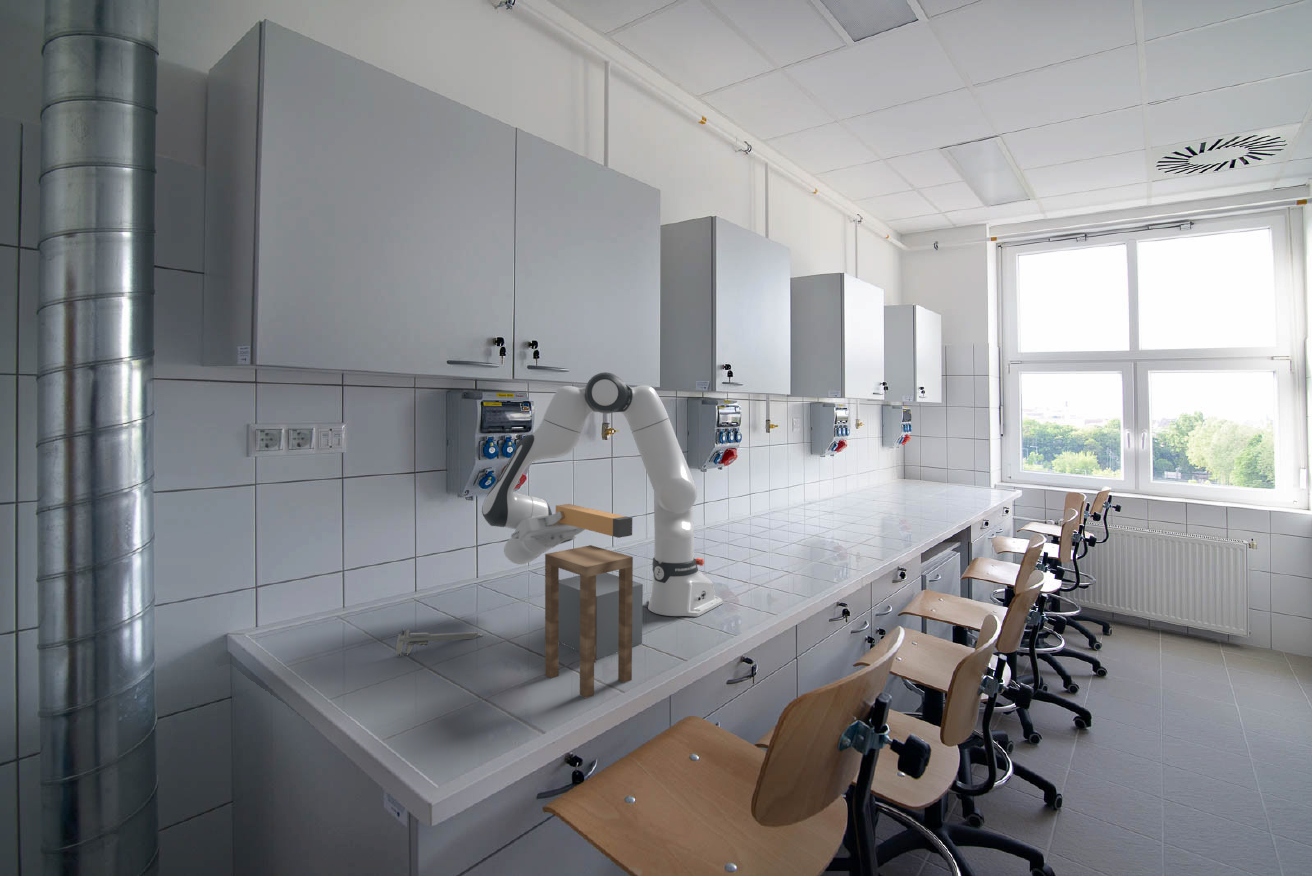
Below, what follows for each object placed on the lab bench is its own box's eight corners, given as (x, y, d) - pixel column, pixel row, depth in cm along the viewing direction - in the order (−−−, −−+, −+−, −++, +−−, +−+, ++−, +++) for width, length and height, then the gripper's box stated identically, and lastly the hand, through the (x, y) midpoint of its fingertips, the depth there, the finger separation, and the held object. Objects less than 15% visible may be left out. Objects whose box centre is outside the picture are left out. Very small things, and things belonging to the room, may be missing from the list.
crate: (599, 626, 163) (600, 570, 162) (642, 643, 152) (642, 584, 151) (554, 640, 153) (555, 581, 153) (596, 659, 142) (596, 596, 141)
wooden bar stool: (590, 659, 142) (590, 545, 140) (631, 679, 132) (632, 556, 130) (545, 675, 134) (545, 553, 132) (586, 698, 124) (586, 567, 122)
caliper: (398, 659, 142) (397, 631, 142) (396, 657, 143) (395, 630, 142) (482, 637, 155) (482, 612, 155) (480, 636, 156) (480, 611, 156)
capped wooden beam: (568, 519, 159) (568, 503, 159) (632, 535, 142) (632, 517, 142) (555, 521, 157) (555, 505, 156) (618, 537, 139) (618, 519, 139)
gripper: (504, 526, 158) (531, 505, 149) (571, 517, 172) (599, 497, 163) (511, 550, 156) (538, 530, 147) (578, 539, 170) (606, 520, 161)
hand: (571, 513), depth 155 cm, fingers closed on capped wooden beam, 4 cm apart
